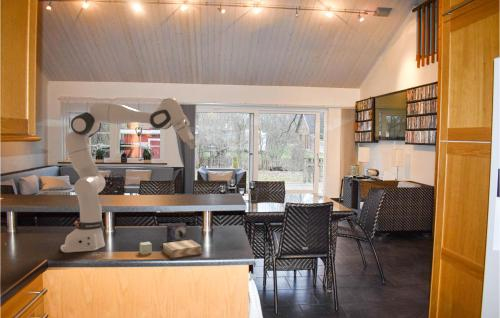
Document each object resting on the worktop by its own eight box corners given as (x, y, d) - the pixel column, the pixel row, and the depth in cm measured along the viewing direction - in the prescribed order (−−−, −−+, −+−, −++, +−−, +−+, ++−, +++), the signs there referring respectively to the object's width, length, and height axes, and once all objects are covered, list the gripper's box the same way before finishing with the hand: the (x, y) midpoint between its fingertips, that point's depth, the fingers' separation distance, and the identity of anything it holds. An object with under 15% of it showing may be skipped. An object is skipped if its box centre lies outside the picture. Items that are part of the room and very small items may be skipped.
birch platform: (171, 257, 212) (171, 250, 212) (163, 250, 224) (163, 243, 224) (201, 253, 220) (201, 246, 220) (191, 246, 232) (191, 239, 232)
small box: (167, 244, 237) (167, 225, 236) (166, 241, 243) (166, 223, 242) (186, 243, 240) (186, 224, 239) (185, 240, 246) (185, 222, 245)
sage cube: (142, 254, 217) (142, 245, 217) (139, 252, 222) (139, 242, 221) (151, 253, 220) (151, 243, 219) (149, 250, 224) (149, 241, 224)
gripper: (179, 128, 237) (191, 150, 238) (173, 128, 217) (186, 152, 218) (189, 123, 237) (201, 144, 238) (183, 122, 217) (196, 146, 218)
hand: (193, 148), depth 228 cm, fingers open, 8 cm apart
